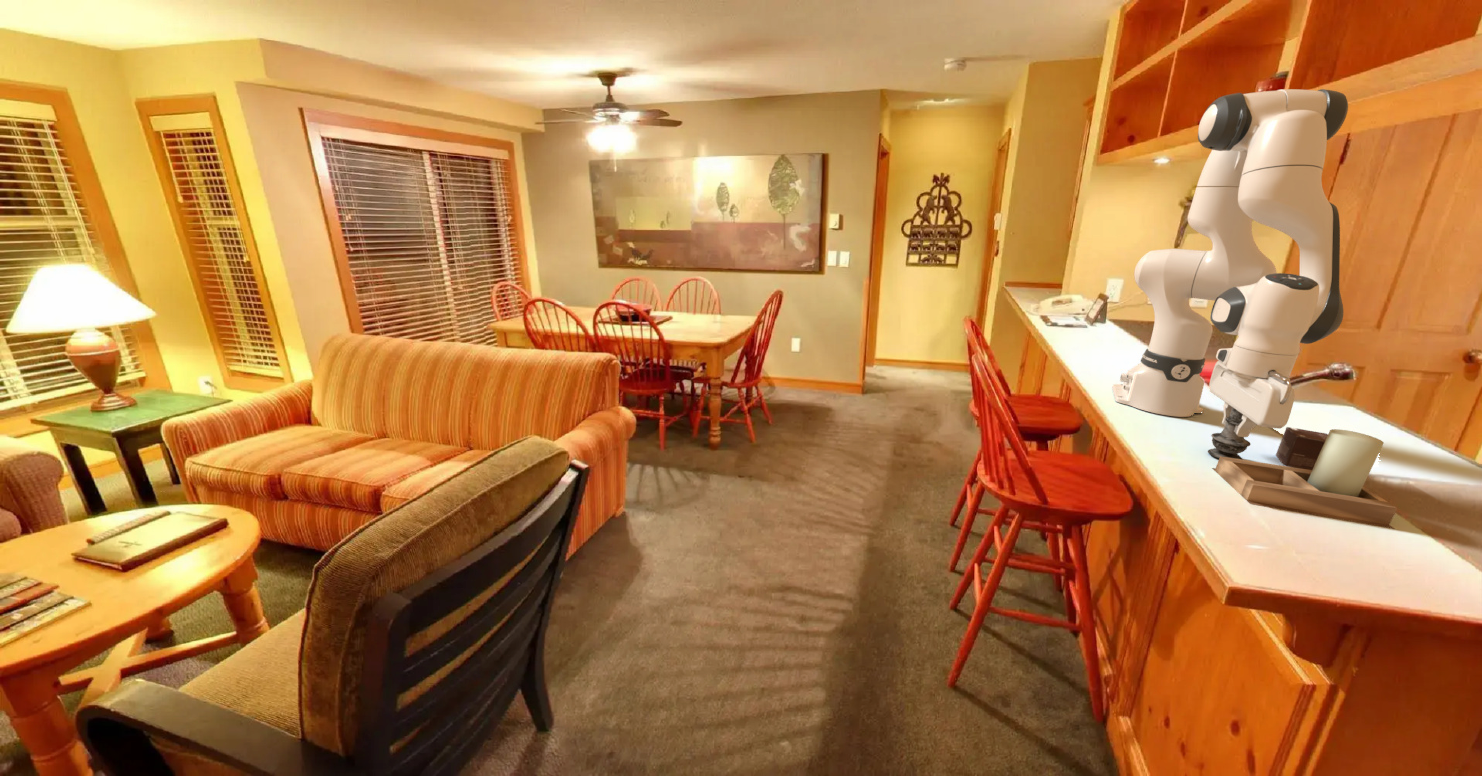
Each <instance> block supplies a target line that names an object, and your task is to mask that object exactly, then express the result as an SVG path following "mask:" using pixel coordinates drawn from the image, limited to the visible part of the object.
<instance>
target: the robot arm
mask: <svg viewBox="0 0 1482 776" xmlns="http://www.w3.org/2000/svg"><path fill="white" fill-rule="evenodd" d="M1348 111H1349V102H1348V98H1347V96H1346V95H1345V94H1344V93H1342V92H1339V91H1336V90H1331V89H1324V88H1322V89H1318V90H1312V89H1294V88H1293V89H1291V88H1290V89H1289V88H1288V89H1287V88H1286V89H1277V90H1267V91H1257V92H1249V93H1242V92H1236V93H1231V94H1226V95H1223V96H1220V97H1218V98H1217V99H1215V100H1214V101H1212V103H1210V105H1208V107H1207V108H1206V110H1205V111H1204V113H1203V115H1202V117H1201V118H1200V121H1199V125H1198V130H1197V139H1198V142H1199V143H1200V145H1201V146H1202V147H1203V148H1205V149H1208V150H1211V152H1210V153H1209V155H1208V157H1207V159H1206V161H1205V163H1204V166H1203V168H1202V169H1201V173H1200V176H1199V178H1198V181H1197V183H1196V187H1195V191H1194V195H1193V197H1192V200H1191V204H1190V208H1189V210H1188V214H1187V222H1188V225H1189V227H1190V228H1191V229H1192V230H1194V231H1196V232H1197V233H1198V234H1200V235H1202V236H1204V237H1206V238H1208V239H1209V240H1210V241H1211V243H1212V248H1211V250H1199V249H1198V250H1197V249H1186V248H1185V249H1183V248H1166V249H1165V248H1164V249H1162V248H1161V249H1155V250H1149V251H1148V252H1147V253H1145V254H1144V255H1143V256H1142V257H1141V258H1140V259H1139V260H1138V261H1137V262H1136V264H1135V267H1134V273H1133V275H1134V281H1135V284H1136V285H1137V287H1138V288H1139V289H1140V290H1141V291H1142V292H1143V293H1144V294H1145V295H1146V296H1147V298H1148V299H1149V301H1150V303H1151V305H1152V308H1153V314H1154V321H1153V322H1154V323H1153V328H1152V329H1153V330H1152V333H1151V338H1150V341H1149V344H1148V348H1146V349H1145V351H1144V352H1143V354H1142V357H1141V359H1140V363H1138V364H1137V365H1135V366H1133V367H1132V368H1131V369H1129V370H1127V372H1126V373H1121V375H1120V378H1119V382H1121V384H1120V383H1119V384H1117V383H1115V384H1112V387H1111V389H1112V393H1113V397H1114V400H1115V402H1117V403H1120V404H1124V405H1128V406H1131V407H1134V408H1136V409H1138V410H1142V411H1145V412H1149V413H1153V414H1157V415H1163V416H1171V417H1176V418H1177V417H1179V418H1180V417H1181V418H1184V417H1186V418H1187V417H1192V416H1194V415H1195V414H1194V413H1201V412H1203V413H1204V408H1203V407H1201V406H1200V402H1201V399H1202V398H1201V397H1202V395H1203V390H1204V387H1205V380H1204V379H1203V378H1202V377H1201V375H1200V374H1201V373H1202V372H1203V369H1204V368H1205V363H1206V358H1205V355H1206V352H1207V349H1208V347H1209V344H1210V341H1211V338H1212V335H1213V325H1214V327H1215V328H1216V329H1217V330H1218V331H1219V332H1221V333H1225V334H1227V335H1232V336H1238V337H1236V338H1237V339H1236V340H1235V341H1234V342H1233V345H1232V347H1227V348H1219V349H1218V350H1217V351H1216V353H1215V354H1216V355H1215V358H1216V360H1217V361H1216V362H1215V364H1214V366H1213V370H1212V372H1211V376H1210V379H1209V383H1208V384H1209V386H1208V387H1209V392H1210V393H1212V394H1213V395H1214V396H1216V397H1217V398H1219V399H1220V400H1222V401H1223V402H1224V403H1223V418H1222V421H1221V424H1222V425H1224V426H1225V425H1226V422H1227V421H1226V420H1225V419H1226V418H1229V415H1230V413H1231V410H1232V407H1233V408H1234V409H1236V410H1237V411H1239V412H1240V413H1242V414H1243V416H1242V420H1243V421H1242V422H1241V423H1240V425H1236V426H1235V430H1234V433H1235V434H1236V435H1238V436H1239V437H1244V438H1247V437H1249V436H1250V434H1251V431H1252V430H1253V429H1254V428H1256V426H1258V427H1262V428H1263V427H1264V428H1271V429H1282V428H1284V427H1285V426H1286V425H1287V424H1288V422H1289V419H1290V416H1291V414H1292V413H1291V412H1292V410H1293V406H1294V401H1295V396H1296V393H1295V389H1294V388H1293V386H1292V383H1291V379H1290V377H1291V374H1292V371H1293V369H1294V366H1295V364H1296V361H1297V359H1298V356H1299V354H1300V350H1301V349H1300V344H1304V345H1308V344H1313V343H1316V342H1318V341H1321V340H1323V339H1324V338H1326V337H1328V336H1330V335H1332V334H1333V333H1334V332H1336V331H1337V330H1338V329H1339V328H1340V326H1341V324H1342V322H1343V319H1344V304H1343V300H1342V296H1341V288H1340V276H1341V275H1340V271H1341V270H1340V266H1341V263H1340V262H1341V261H1340V259H1341V258H1340V257H1341V253H1340V252H1341V227H1340V226H1341V224H1340V222H1341V221H1340V214H1339V209H1338V208H1337V206H1336V205H1335V204H1333V203H1332V202H1330V201H1329V200H1328V198H1327V196H1326V194H1325V191H1324V188H1323V183H1322V181H1323V180H1322V175H1323V172H1324V171H1323V170H1324V167H1325V160H1326V153H1327V141H1329V140H1330V139H1332V138H1333V137H1334V136H1335V135H1336V134H1337V133H1338V132H1339V130H1340V129H1341V128H1342V126H1343V124H1344V122H1345V120H1346V118H1347V115H1348ZM1253 221H1254V222H1256V223H1258V224H1261V225H1264V226H1265V227H1269V228H1271V229H1275V230H1276V231H1279V232H1281V233H1283V234H1284V235H1287V236H1288V237H1290V238H1291V239H1292V240H1293V241H1295V243H1296V244H1297V246H1298V249H1299V275H1297V274H1293V273H1285V272H1284V273H1283V272H1279V273H1278V271H1277V268H1276V265H1275V264H1274V262H1273V261H1272V260H1271V259H1270V258H1269V257H1268V256H1266V255H1265V254H1264V253H1263V252H1262V251H1261V250H1260V249H1259V247H1258V245H1257V244H1256V241H1255V238H1254V235H1253V231H1252V228H1253V227H1252V226H1253ZM1190 299H1198V300H1207V301H1214V303H1213V304H1212V307H1211V310H1210V317H1209V318H1210V321H1211V322H1210V321H1209V320H1208V319H1207V318H1206V317H1205V316H1203V315H1202V314H1200V313H1198V312H1196V311H1194V310H1193V309H1192V308H1191V305H1190ZM1212 324H1213V325H1212ZM1122 383H1123V384H1122ZM1193 414H1194V415H1193ZM1191 415H1192V416H1191Z"/></svg>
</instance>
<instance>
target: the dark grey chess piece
mask: <svg viewBox="0 0 1482 776" xmlns="http://www.w3.org/2000/svg"><path fill="white" fill-rule="evenodd" d="M1242 416H1243V414H1242V413H1240V412H1239V411H1237V410H1236V409H1234V408H1233V407H1232V410H1231V413H1230V415H1229V418H1226V419H1225V420H1226V421H1227V422H1226V425H1224V428H1223V430H1222V431H1221V432H1213V433H1212V434H1211V435H1210V436H1211V437H1212V438H1211V441H1212V442H1211V443H1212V446H1214V448H1210V449H1207V453H1208V454H1209V455H1210V456H1212V457H1214V458H1217V459H1219V458H1220V456H1221V457H1228V458H1235V459H1241V460H1243V457H1241V456H1240V454H1241V453H1243V452H1246V450H1247V448H1248V447H1250V446H1251V442H1250V441H1249V440H1247V439H1245V437H1239V436H1238V435H1236V434H1235V433H1234V430H1235V426H1236V425H1240V423H1241V422H1242V421H1243V420H1242Z"/></svg>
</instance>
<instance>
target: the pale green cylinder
mask: <svg viewBox="0 0 1482 776" xmlns="http://www.w3.org/2000/svg"><path fill="white" fill-rule="evenodd" d="M1327 434H1328V436H1327V438H1326V441H1325V443H1324V445H1323V447H1322V450H1321V452H1320V454H1319V456H1318V459H1317V461H1316V463H1315V465H1314V468H1313V470H1312V472H1311V475H1310V477H1309V479H1308V481H1307V482H1308V483H1309V484H1311V485H1312V486H1313V487H1315V488H1316V489H1318V490H1319V491H1322V492H1328V493H1335V494H1341V495H1347V496H1353V497H1358V495H1359V493H1360V491H1361V489H1362V487H1363V486H1364V485H1365V484H1366V481H1367V478H1368V477H1369V474H1370V473H1371V471H1372V468H1373V466H1374V464H1375V462H1376V460H1377V458H1378V456H1379V454H1380V451H1381V450H1382V447H1383V445H1384V444H1385V443H1384V441H1383V440H1382V439H1379V438H1377V437H1374V436H1371V435H1368V434H1365V433H1361V432H1356V431H1351V430H1348V429H1340V428H1339V429H1338V428H1337V429H1335V428H1334V429H1330V430H1329V432H1328V433H1327Z"/></svg>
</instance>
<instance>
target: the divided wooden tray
mask: <svg viewBox="0 0 1482 776" xmlns="http://www.w3.org/2000/svg"><path fill="white" fill-rule="evenodd" d="M1215 466H1216V467H1213V468H1211V469H1212V470H1213V471H1214V472H1215V473H1217V475H1219V476H1220V477H1221V478H1222V479H1223V480H1224V481H1225V482H1226V483H1227V484H1228V485H1229V486H1230V487H1231V488H1233V489H1234V491H1236V492H1237V493H1238V494H1239V495H1240V496H1241V497H1242V498H1243V499H1244V500H1245V501H1246V502H1248V503H1249V504H1250V505H1253V506H1258V507H1259V506H1260V507H1264V508H1265V507H1266V508H1271V509H1276V510H1283V511H1288V512H1294V513H1300V514H1304V515H1305V514H1306V515H1309V516H1310V515H1311V516H1318V517H1323V518H1329V519H1335V520H1340V521H1345V522H1346V521H1347V522H1353V523H1358V524H1364V525H1369V526H1375V527H1381V528H1387V529H1393V530H1396V528H1395V527H1394V526H1392V525H1391V522H1392V520H1393V518H1394V517H1395V515H1396V512H1397V511H1398V507H1396V506H1395V505H1393V504H1392V503H1390V502H1389V501H1387V500H1385V499H1384V498H1382V497H1381V496H1379V495H1378V494H1376V493H1374V492H1373V491H1371V490H1370V489H1369V488H1367V487H1365V486H1364V485H1363V487H1362V489H1361V491H1360V493H1359V495H1358V497H1353V496H1347V495H1341V494H1335V493H1328V492H1322V491H1319V490H1318V489H1316V488H1315V487H1313V486H1312V485H1311V484H1309V483H1308V482H1307V481H1308V479H1309V477H1310V475H1311V472H1312V470H1307V469H1301V468H1294V467H1289V466H1285V465H1281V464H1279V465H1278V464H1273V463H1266V462H1259V461H1252V460H1247V459H1242V460H1241V459H1235V458H1228V457H1221V456H1220V458H1218V461H1217V464H1216V465H1215Z"/></svg>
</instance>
